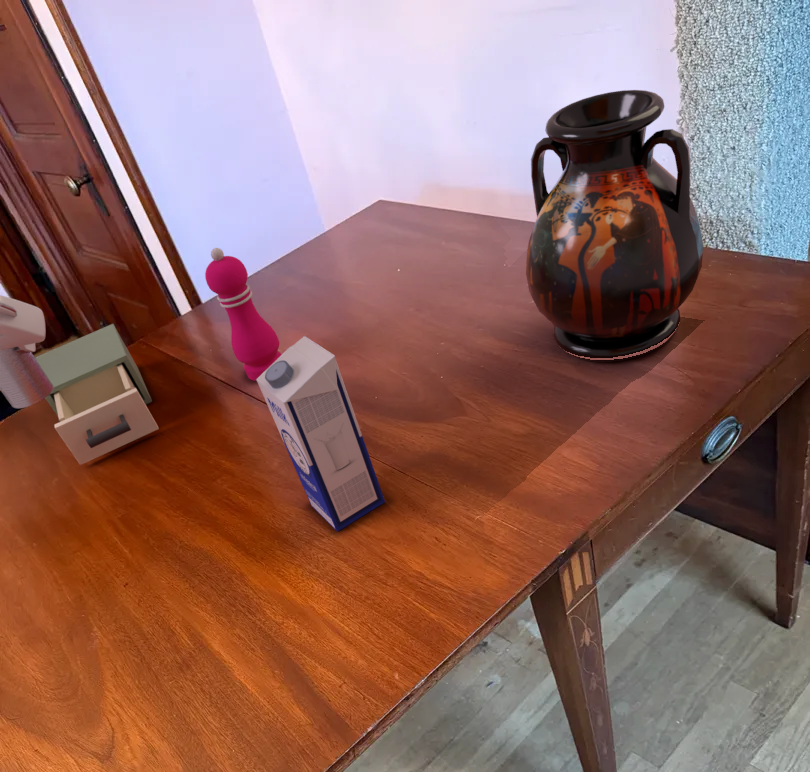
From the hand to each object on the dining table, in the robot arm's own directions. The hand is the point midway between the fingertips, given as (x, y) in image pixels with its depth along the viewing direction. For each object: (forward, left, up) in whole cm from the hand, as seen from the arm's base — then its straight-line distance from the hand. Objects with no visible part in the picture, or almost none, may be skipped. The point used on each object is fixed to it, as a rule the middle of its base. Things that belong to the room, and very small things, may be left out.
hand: (6, 351), depth 92 cm
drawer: (+5, +10, -21) cm, 24 cm away
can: (0, -1, -6) cm, 6 cm away
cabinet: (+5, +24, -22) cm, 33 cm away
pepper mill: (+30, +10, -22) cm, 38 cm away
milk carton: (+28, -30, -22) cm, 46 cm away
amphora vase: (+72, -23, -22) cm, 79 cm away
